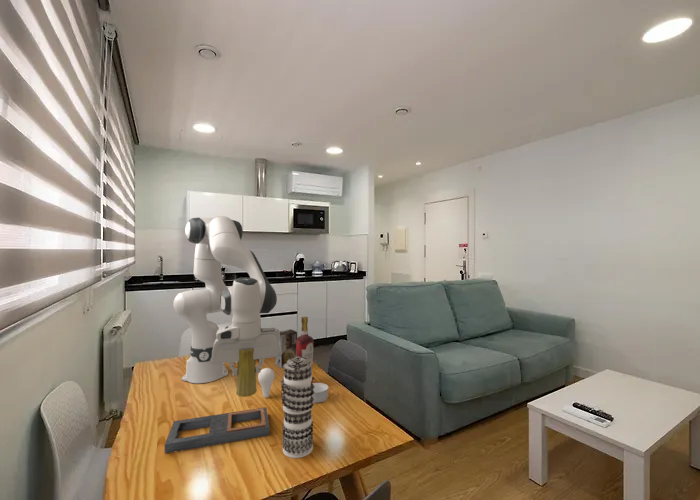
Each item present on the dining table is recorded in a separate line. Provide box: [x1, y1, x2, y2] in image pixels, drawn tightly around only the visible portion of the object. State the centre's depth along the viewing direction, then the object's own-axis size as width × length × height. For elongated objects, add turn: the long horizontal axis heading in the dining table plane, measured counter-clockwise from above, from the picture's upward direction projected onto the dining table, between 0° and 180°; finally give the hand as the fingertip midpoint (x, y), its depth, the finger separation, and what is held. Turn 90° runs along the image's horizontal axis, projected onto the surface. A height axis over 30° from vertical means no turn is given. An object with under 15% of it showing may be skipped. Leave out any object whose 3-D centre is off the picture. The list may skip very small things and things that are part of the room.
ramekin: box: [312, 382, 330, 404], centre depth 122 cm, size 9×9×4 cm
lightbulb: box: [257, 367, 275, 399], centre depth 123 cm, size 6×6×11 cm
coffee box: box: [275, 328, 298, 369], centre depth 159 cm, size 9×6×16 cm
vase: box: [236, 348, 258, 398], centre depth 102 cm, size 6×6×14 cm
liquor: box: [296, 316, 314, 383], centre depth 135 cm, size 7×7×28 cm
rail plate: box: [164, 406, 270, 454], centre depth 100 cm, size 13×28×3 cm, turn 109°
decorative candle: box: [280, 357, 315, 459], centre depth 91 cm, size 9×9×25 cm
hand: (246, 373), depth 102 cm, fingers closed on vase, 5 cm apart
